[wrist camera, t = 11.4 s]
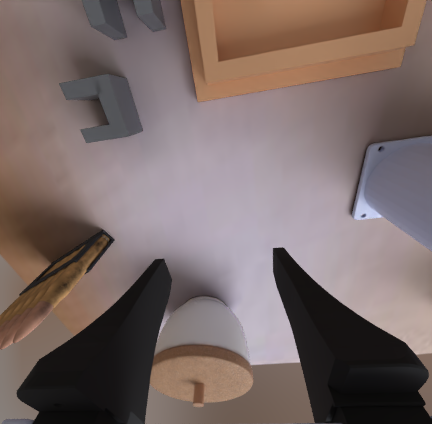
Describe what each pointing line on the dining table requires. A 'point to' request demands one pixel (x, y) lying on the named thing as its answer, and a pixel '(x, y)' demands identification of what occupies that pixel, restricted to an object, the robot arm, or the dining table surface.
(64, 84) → the clip
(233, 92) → the wooden tray
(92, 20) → the clip
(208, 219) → the dining table surface
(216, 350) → the lidded bowl
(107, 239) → the ammunition clip
